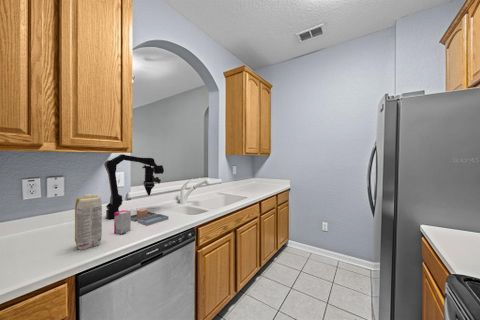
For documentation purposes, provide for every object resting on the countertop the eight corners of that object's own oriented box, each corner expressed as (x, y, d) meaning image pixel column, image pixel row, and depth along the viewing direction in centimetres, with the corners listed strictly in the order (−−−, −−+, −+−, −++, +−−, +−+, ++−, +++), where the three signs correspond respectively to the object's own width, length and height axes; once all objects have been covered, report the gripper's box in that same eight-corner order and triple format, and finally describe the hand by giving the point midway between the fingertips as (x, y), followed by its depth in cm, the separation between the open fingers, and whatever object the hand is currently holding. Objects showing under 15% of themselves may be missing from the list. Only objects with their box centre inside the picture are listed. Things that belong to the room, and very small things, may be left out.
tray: (146, 226, 115) (146, 222, 115) (137, 223, 120) (137, 219, 120) (168, 219, 128) (168, 216, 128) (159, 217, 133) (159, 213, 133)
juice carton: (98, 240, 96) (98, 192, 96) (102, 244, 91) (103, 194, 90) (73, 246, 89) (73, 195, 88) (77, 251, 84) (77, 197, 83)
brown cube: (140, 218, 128) (140, 211, 128) (136, 217, 130) (136, 210, 130) (147, 217, 132) (147, 209, 132) (143, 215, 134) (143, 208, 134)
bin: (135, 222, 122) (135, 219, 122) (126, 219, 127) (126, 216, 127) (156, 216, 135) (156, 213, 135) (148, 214, 140) (148, 211, 140)
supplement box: (131, 230, 108) (131, 210, 108) (121, 234, 102) (121, 213, 102) (123, 229, 110) (123, 209, 110) (113, 233, 104) (113, 212, 104)
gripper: (162, 174, 142) (161, 195, 142) (158, 173, 158) (158, 192, 158) (145, 175, 136) (144, 197, 136) (143, 173, 152) (143, 192, 152)
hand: (148, 194), depth 146 cm, fingers open, 9 cm apart
